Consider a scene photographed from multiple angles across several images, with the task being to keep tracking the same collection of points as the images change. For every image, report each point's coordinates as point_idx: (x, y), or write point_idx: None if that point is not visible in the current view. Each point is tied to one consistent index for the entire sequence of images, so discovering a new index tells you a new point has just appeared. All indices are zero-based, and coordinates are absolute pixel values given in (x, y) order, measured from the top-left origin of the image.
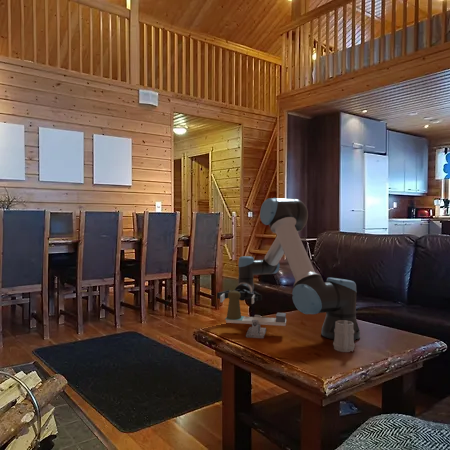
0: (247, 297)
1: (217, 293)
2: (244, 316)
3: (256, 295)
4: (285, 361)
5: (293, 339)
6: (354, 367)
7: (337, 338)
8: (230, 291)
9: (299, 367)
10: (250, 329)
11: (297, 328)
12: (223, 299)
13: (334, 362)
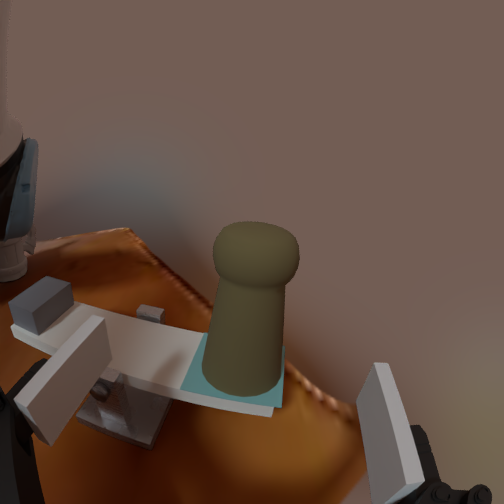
0: None
1: (480, 487)
2: (178, 388)
3: (4, 398)
4: (146, 255)
5: None
6: (64, 239)
7: (22, 247)
8: (286, 233)
9: (136, 244)
10: (155, 408)
11: None
12: (370, 453)
13: (74, 247)
